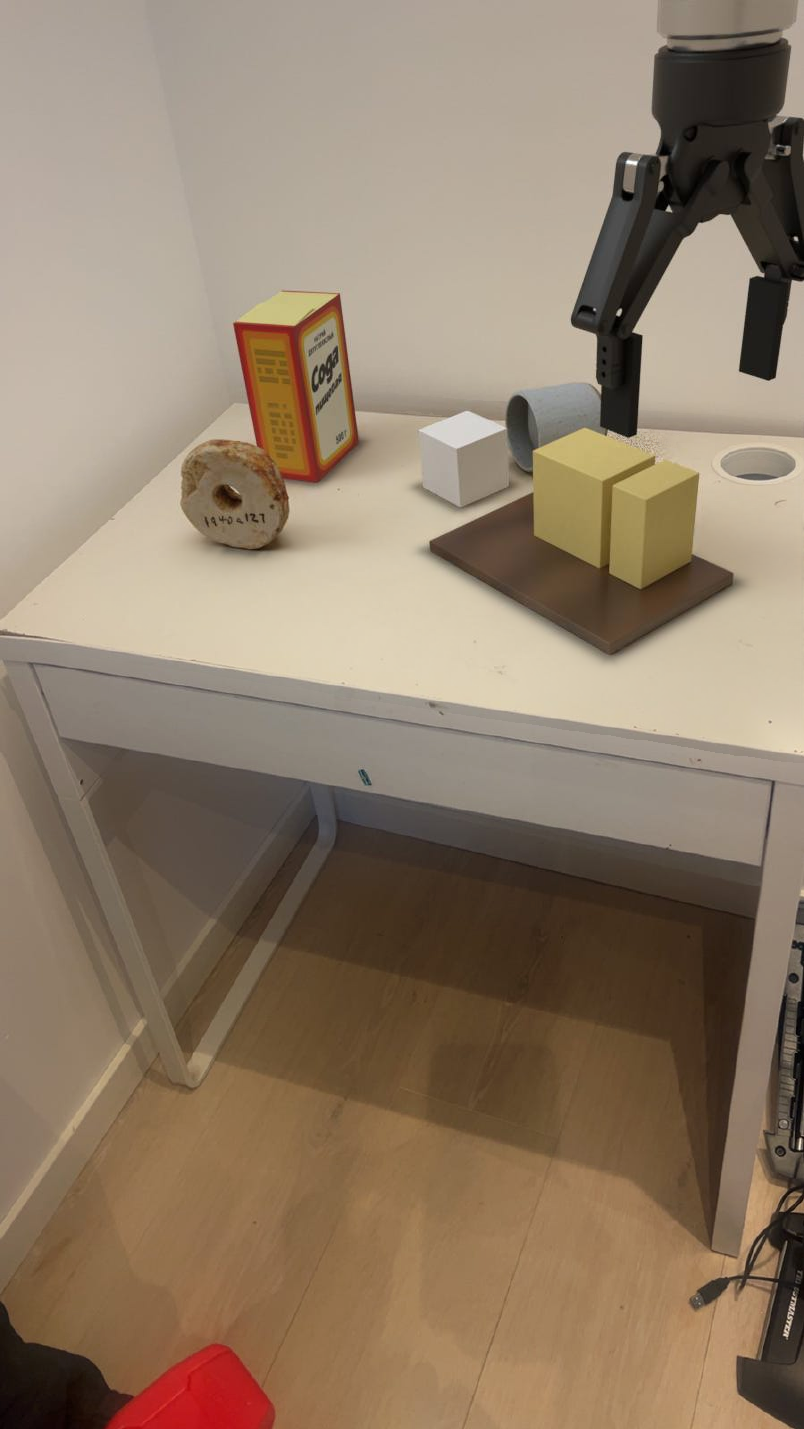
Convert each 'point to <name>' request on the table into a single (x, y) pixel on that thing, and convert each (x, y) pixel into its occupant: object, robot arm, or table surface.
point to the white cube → (464, 458)
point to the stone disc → (234, 493)
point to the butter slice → (653, 523)
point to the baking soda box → (298, 381)
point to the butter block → (581, 491)
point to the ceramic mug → (549, 417)
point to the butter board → (572, 579)
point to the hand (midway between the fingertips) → (690, 402)
